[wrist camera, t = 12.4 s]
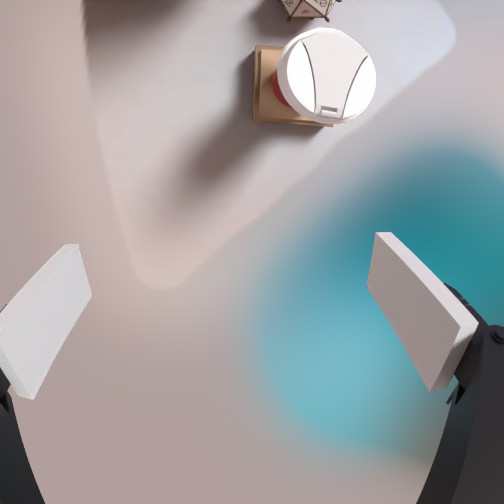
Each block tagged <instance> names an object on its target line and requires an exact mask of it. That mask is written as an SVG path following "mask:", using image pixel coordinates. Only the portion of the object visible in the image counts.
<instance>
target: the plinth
mask: <svg viewBox="0 0 504 504" xmlns="http://www.w3.org/2000/svg"><path fill="white" fill-rule="evenodd" d="M284 48H285V47H274V46H256V48H255V53H254V87H253V122H264V123H286V124H302V125H315V126H326V127H333V124H323V123H318V122H315V121H312V120H310V119H307V118H306V117H304V116H302V115H300V114H299V113H298V112H297V111H295V110H294V109H292V108H289V107H287V106H286V105H284V104H282V103H281V102H280V101H279V100H278V99H277V97H276V96H275V94H274V91H273V87H272V81H273V77H274V74H275V72H276V70H277V67H278V61H279V58H280V56H281V53H282V51H283V50H284Z"/></svg>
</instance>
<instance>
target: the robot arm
mask: <svg viewBox="0 0 504 504" xmlns="http://www.w3.org/2000/svg"><path fill="white" fill-rule="evenodd" d="M367 288H368V290H369V291H370V293H371V294H372V296H373V297H374V299H375V300H376V302H377V304H378V305H379V307H380V308H381V310H382V312H383V313H384V315H385V316H386V318H387V320H388V321H389V323H390V324H391V326H392V328H393V329H394V331H395V333H396V334H397V336H398V338H399V339H400V341H401V342H402V344H403V346H404V348H405V349H406V351H407V353H408V355H409V356H410V358H411V360H412V362H413V363H414V365H415V367H416V369H417V370H418V372H419V374H420V376H421V378H422V379H423V381H424V383H425V385H426V387H427V388H428V390H429V392H432V391H435V390H438V389H442V388H445V387H447V386H448V384H449V382H450V381H451V379H452V377H453V375H455V376H456V378H457V380H458V381H459V382H458V384H457V386H456V387H455V389H454V390H453V392H452V394H451V396H450V397H449V399H448V401H447V402H446V404H449V403H450V401H451V400H452V402H451V406H450V410H449V414H448V418H447V421H446V425H445V428H444V431H443V435H442V438H441V441H440V444H439V447H438V450H437V453H436V456H435V459H434V461H433V464H432V467H431V470H430V472H429V475H428V477H427V480H426V482H425V485H424V487H423V489H422V492H421V494H420V497H419V499H418V501H417V503H416V504H504V327H502V326H498V325H490V326H489V325H488V324H487V323H486V322H485V321H484V320H483V318H482V317H481V316H480V315H479V314H478V313H477V312H476V311H475V310H474V308H472V306H469V303H468V302H467V301H466V300H465V299H463V297H462V296H461V295H460V294H459V293H458V291H457V290H456V289H454V288H452V287H451V286H449V285H447V284H446V283H442V282H441V281H440V280H439V279H438V278H437V277H436V276H435V275H434V274H433V273H432V272H431V271H430V270H429V269H428V268H427V267H426V266H425V265H424V264H423V263H422V262H421V261H420V260H419V259H418V258H417V257H416V256H415V255H414V254H413V253H412V252H411V251H410V250H409V249H408V248H407V247H406V246H405V245H404V244H403V243H402V242H401V241H400V240H398V239H397V238H396V237H395V236H394V235H393V234H392V233H391V232H381V233H380V232H379V233H378V232H377V233H376V234H375V241H374V247H373V253H372V259H371V265H370V272H369V277H368V282H367ZM91 297H92V293H91V290H90V287H89V283H88V280H87V276H86V273H85V269H84V265H83V262H82V258H81V254H80V250H79V245H78V244H65V245H64V246H63V247H62V248H60V249H59V250H58V251H57V252H56V253H55V254H54V255H53V256H52V257H51V258H50V259H49V260H48V262H46V263H45V264H44V265H43V266H42V267H41V268H40V269H39V271H38V272H37V273H36V274H35V275H34V276H33V277H32V278H31V279H30V280H29V281H28V282H27V283H26V284H25V285H24V286H23V288H22V289H21V290H20V291H19V292H18V293H17V294H16V295H15V297H14V298H13V299H12V300H11V301H10V302H9V303H8V304H6V306H5V307H4V308H3V309H2V310H1V311H0V504H45V502H44V500H43V498H42V495H41V493H40V490H39V488H38V485H37V483H36V481H35V478H34V475H33V472H32V469H31V467H30V464H29V461H28V458H27V455H26V452H25V448H24V445H23V442H22V439H21V435H20V431H19V428H18V424H17V420H16V416H15V412H14V407H13V403H12V398H11V396H10V394H9V393H8V391H7V390H8V388H9V386H10V385H11V386H12V387H13V389H14V390H15V392H16V393H17V395H18V396H21V397H24V398H28V399H32V400H33V399H34V397H35V395H36V394H37V392H38V390H39V388H40V385H41V384H42V382H43V380H44V378H45V376H46V374H47V372H48V370H49V368H50V367H51V364H52V363H53V361H54V359H55V357H56V356H57V354H58V352H59V350H60V348H61V347H62V345H63V343H64V341H65V340H66V338H67V336H68V335H69V332H70V331H71V329H72V328H73V326H74V324H75V323H76V321H77V319H78V318H79V316H80V315H81V313H82V311H83V310H84V308H85V306H86V305H87V303H88V301H89V300H90V298H91Z"/></svg>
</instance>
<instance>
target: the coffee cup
mask: <svg viewBox="0 0 504 504" xmlns="http://www.w3.org/2000/svg"><path fill="white" fill-rule="evenodd" d="M375 86H376V73H375V69H374V65H373V63H372V60H371V58H370V56H369V55H368V54H367V53H366V52H365V51H364V50H363V48H362V47H361V46H360V45H359V44H358V43H357V42H355V41H354V40H353V39H352V38H350V37H349V36H348V35H346V34H344V33H343V32H341V31H338V30H335V29H331V28H316V29H313V30H310V31H307V32H304V33H302V34H300V35H298V36H296V37H295V38H294V39H292V40H291V41H290V42H289V43H288V44H287V45H286V47H285V48H284V50H283V51H282V53H281V56H280V58H279V61H278V67H277V70H276V72H275V74H274V77H273V81H272V87H273V91H274V94H275V96H276V97H277V99H278V100H279V101H280V102H281V103H282V104H284V105H286V106H287V107H289V108H292V109H294V110H295V111H297V112H298V113H299V114H300V115H302V116H304V117H306V118H307V119H310V120H312V121H315V122H318V123H323V124H339V123H343V122H347V121H349V120H352V119H353V118H355V117H357V116H358V115H359V114H360V113H362V112H363V111H364V110H365V108H366V107H367V106H368V104H369V103H370V101H371V99H372V96H373V94H374V91H375Z"/></svg>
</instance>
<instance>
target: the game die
mask: <svg viewBox="0 0 504 504" xmlns="http://www.w3.org/2000/svg"><path fill="white" fill-rule="evenodd" d="M336 1H337V2H341V1H342V0H279V1H278V2H282V4H283V6H284V8H285V9H286V11H287V13H288V15H289V17H288V18H287V22H289V21H290V20H291V18H310V19H312V20H313V19H314V18H325V20H326V21H327V22H329V18H328V17H327V14H328V13H329V11H330V10H331V8H332V6H333V5H334V3H335V2H336Z"/></svg>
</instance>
